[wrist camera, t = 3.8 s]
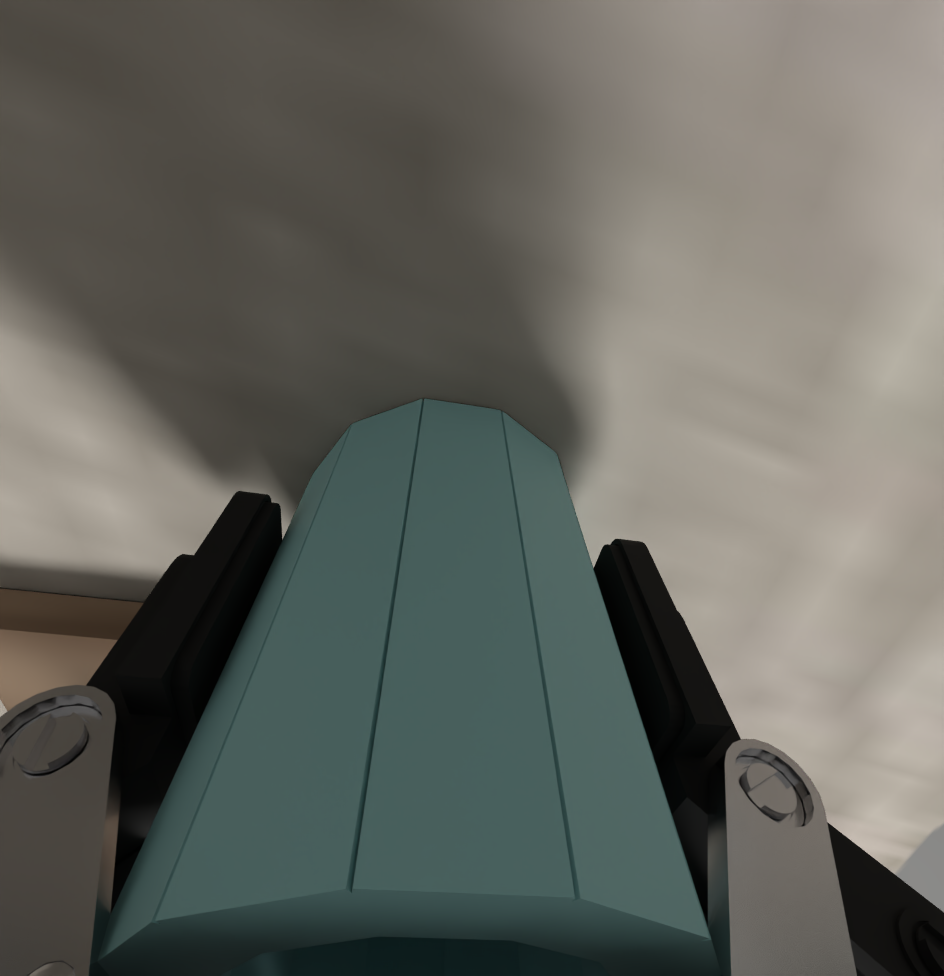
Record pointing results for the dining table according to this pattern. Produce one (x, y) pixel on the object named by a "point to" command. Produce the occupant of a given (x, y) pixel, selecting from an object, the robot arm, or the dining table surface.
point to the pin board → (55, 640)
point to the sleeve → (419, 743)
